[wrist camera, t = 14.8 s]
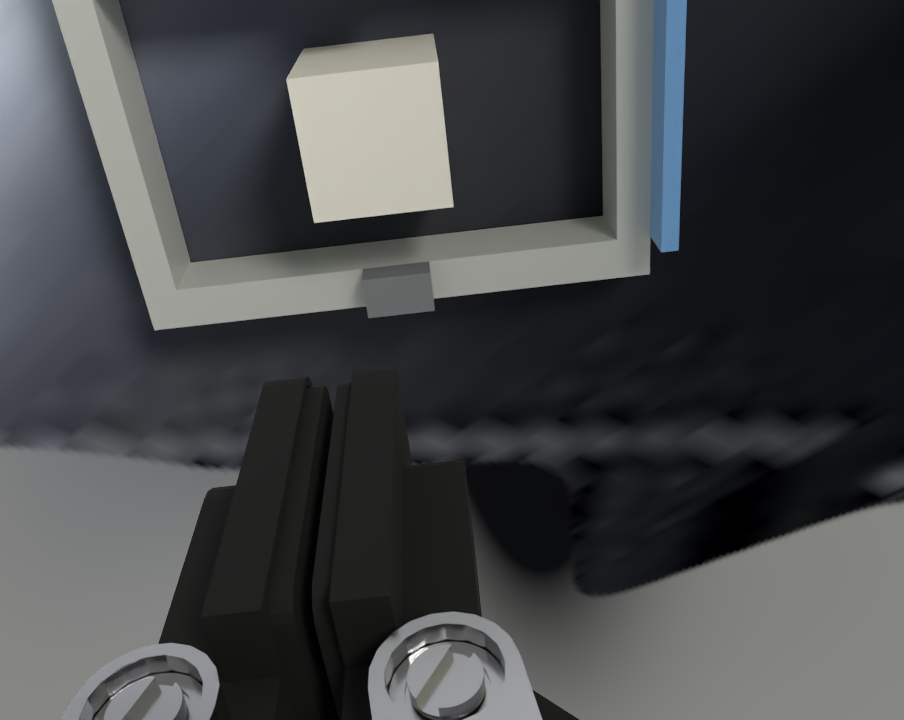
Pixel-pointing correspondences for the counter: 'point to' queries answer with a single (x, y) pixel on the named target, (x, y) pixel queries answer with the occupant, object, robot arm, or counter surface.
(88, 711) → the robot arm
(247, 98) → the counter surface
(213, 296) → the compartment tray
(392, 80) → the cream matte cube
